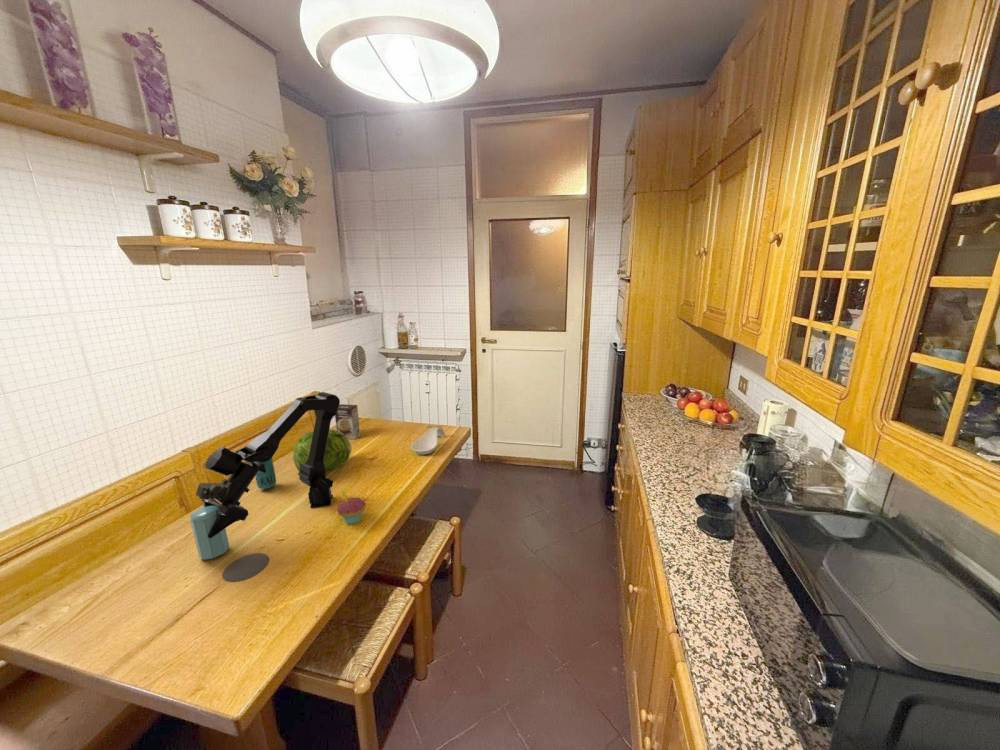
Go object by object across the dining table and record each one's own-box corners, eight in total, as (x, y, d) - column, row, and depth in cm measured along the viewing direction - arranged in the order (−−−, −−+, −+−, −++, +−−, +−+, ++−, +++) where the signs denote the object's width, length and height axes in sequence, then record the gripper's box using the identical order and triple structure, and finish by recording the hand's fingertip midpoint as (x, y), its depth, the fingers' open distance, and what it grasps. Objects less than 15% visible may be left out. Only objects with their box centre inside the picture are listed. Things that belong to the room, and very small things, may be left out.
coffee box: (337, 439, 195) (333, 408, 191) (344, 434, 202) (340, 403, 198) (354, 440, 194) (350, 408, 190) (361, 434, 200) (357, 404, 196)
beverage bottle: (263, 484, 154) (253, 436, 149) (280, 483, 154) (272, 435, 149) (254, 493, 148) (244, 443, 143) (273, 492, 148) (263, 442, 143)
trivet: (274, 551, 116) (274, 550, 116) (262, 578, 105) (261, 577, 105) (232, 558, 113) (232, 557, 113) (215, 586, 103) (214, 585, 103)
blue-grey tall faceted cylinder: (233, 541, 118) (224, 504, 115) (221, 557, 112) (212, 518, 109) (207, 544, 117) (198, 507, 114) (194, 560, 111) (184, 521, 108)
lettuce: (369, 442, 170) (340, 414, 175) (327, 456, 148) (296, 423, 153) (349, 473, 175) (322, 445, 179) (306, 490, 153) (276, 458, 158)
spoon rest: (431, 459, 172) (430, 443, 170) (406, 456, 175) (405, 441, 173) (451, 437, 194) (450, 424, 192) (429, 435, 197) (428, 422, 195)
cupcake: (340, 530, 124) (335, 496, 122) (337, 516, 132) (333, 484, 129) (369, 522, 128) (365, 488, 125) (364, 509, 136) (360, 477, 133)
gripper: (200, 463, 117) (163, 514, 111) (227, 480, 107) (187, 538, 101) (235, 476, 125) (202, 524, 119) (263, 493, 115) (228, 547, 109)
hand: (204, 533), depth 112 cm, fingers closed on blue-grey tall faceted cylinder, 7 cm apart
